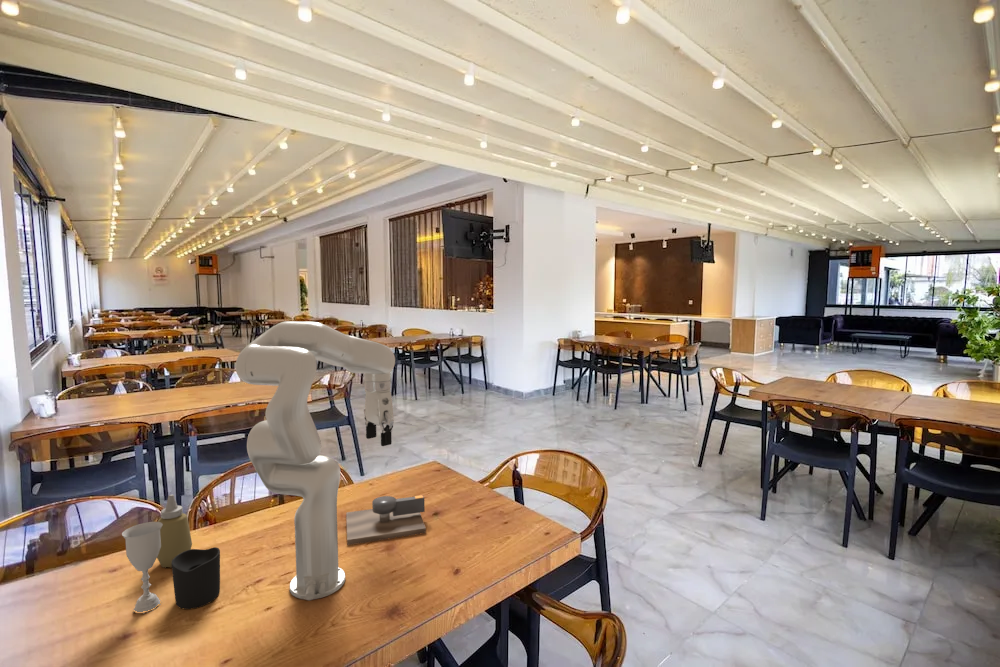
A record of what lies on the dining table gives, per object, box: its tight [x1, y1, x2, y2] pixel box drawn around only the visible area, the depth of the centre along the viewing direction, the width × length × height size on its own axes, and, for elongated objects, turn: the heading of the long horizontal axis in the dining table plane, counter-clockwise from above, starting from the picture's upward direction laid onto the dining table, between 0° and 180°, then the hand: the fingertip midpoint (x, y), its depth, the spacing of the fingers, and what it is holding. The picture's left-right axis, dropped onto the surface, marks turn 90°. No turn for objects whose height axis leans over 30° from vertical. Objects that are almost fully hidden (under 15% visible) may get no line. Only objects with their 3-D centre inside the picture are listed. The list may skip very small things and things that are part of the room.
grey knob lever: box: [371, 494, 425, 516], centre depth 148 cm, size 7×16×5 cm, turn 108°
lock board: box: [346, 508, 427, 546], centre depth 147 cm, size 18×22×5 cm
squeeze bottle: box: [156, 494, 193, 569], centre depth 126 cm, size 8×8×18 cm
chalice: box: [121, 521, 163, 612], centre depth 108 cm, size 7×7×18 cm
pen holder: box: [171, 547, 221, 610], centre depth 111 cm, size 9×9×10 cm
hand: (378, 441), depth 148 cm, fingers open, 9 cm apart
